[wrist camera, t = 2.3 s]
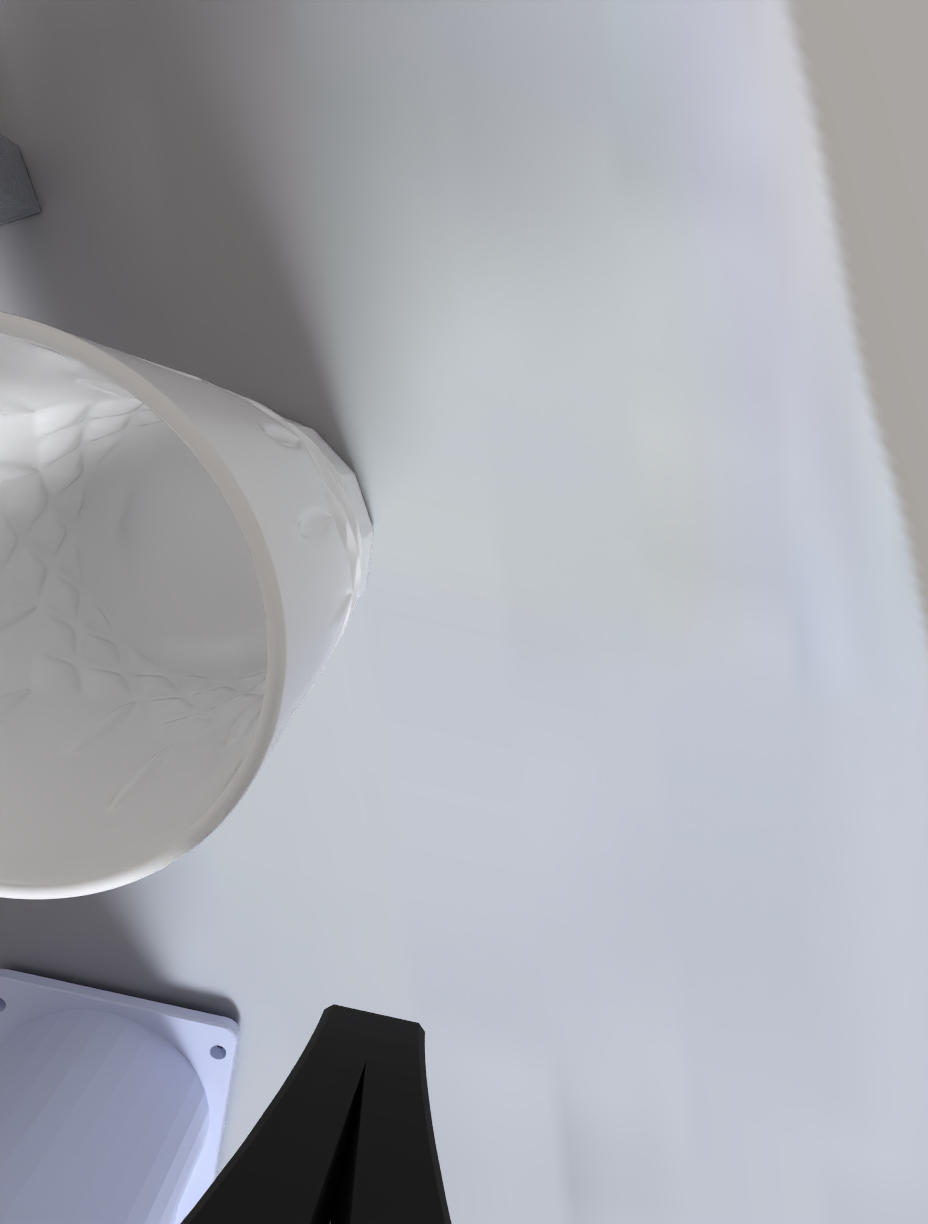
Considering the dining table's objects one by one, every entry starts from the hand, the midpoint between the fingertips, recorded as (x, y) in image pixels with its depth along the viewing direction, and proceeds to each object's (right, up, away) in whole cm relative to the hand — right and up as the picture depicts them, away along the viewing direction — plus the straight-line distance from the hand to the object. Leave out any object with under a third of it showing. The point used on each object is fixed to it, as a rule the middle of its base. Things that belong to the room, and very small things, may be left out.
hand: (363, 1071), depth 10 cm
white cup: (-4, +8, +9) cm, 13 cm away
